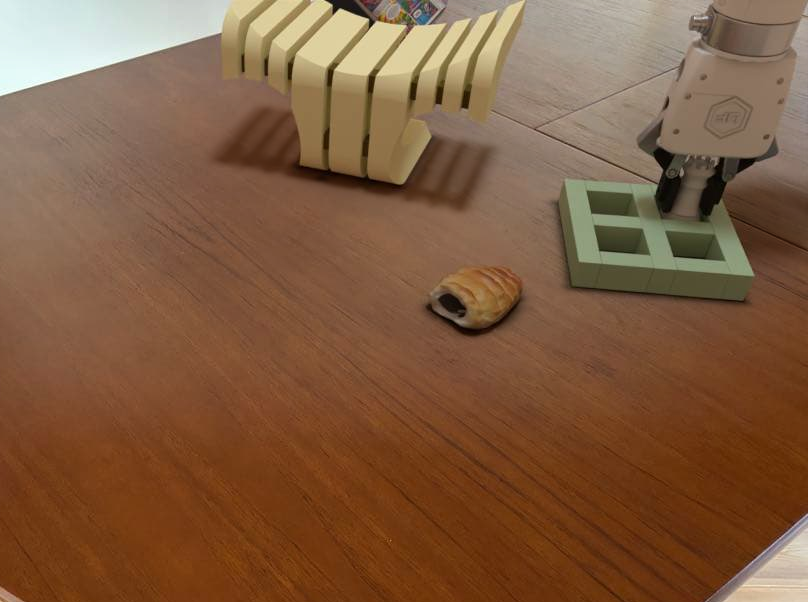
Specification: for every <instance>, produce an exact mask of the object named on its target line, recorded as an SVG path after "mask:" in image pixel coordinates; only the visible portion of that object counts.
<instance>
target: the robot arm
mask: <svg viewBox="0 0 808 602" xmlns="http://www.w3.org/2000/svg"><path fill="white" fill-rule="evenodd" d="M807 5H808V0H712V3H709V5H708V7H707V10H706V11H705V13H701V14H692V15H691V17H690V18H689V22H688V31H689V32H690V31H691V32H692V31H693V32H696V33H699V34H700V35H699V36H698V35H697V36H695V37H693V39H692V40H691V42H690V44H689V46H688V47H687V49H686V51H685V52H684V55H683V57H682V59H680V60H681V61H680V63H679V64H678V66H677V68H676V71H675V73H674V74H673V77H672V79H671V82H670V84H669V85H668V89H667V91H666V94H665V96H664V99H663V102H662V104H661V107H660V108H659V109H660V110H659V112H658V115H657V116H656V117H655V118H654V119H653V120H652V121H651V122H650V123H649V124H648V125H647V126H646V127H645V128H644V129H643V130H642V131H641V132H640V133H639V134H638V135H637V137H636V139H635V141H636V145H637V147H638V148H639V149H640V150H641V151H643V152H644V153H646V154H647V155H649V156H650V157H652V158H654V160H655V162H656V163H657V164H658V165H659V167H660V168H661V169H662V172H661V175H660V178H659V181H658V184H657V185H658V187H657V190H656V194H655V197H656V200H657V201H659V203H660V206H661V209H662V212H663V213H668V212H670V211H671V209H672V206H673V203H674V201H675V198H676V195H677V192H678V190H679V187H680V184H681V175H680V174H681V172H682V171H681V170H682V169H683V168H682V166H683V164H684V162H686V161H687V158H688V157H689V156H691V155H693V156H695V157H696V156H702V157H706V156H709V157H711V158H712V157H713V158H717V161H716V165H714V169H715V171H716V172H715V174H714V175H712V176H711V177H709V178H708V179H707V183H708V185H707V187H705V188H704V190H703V192H702V196H701V200H700V206H699V207H700V209H701V212H702V214H704V215H705V216H710V215H711V212H712V210H713V207H714V205H718V204H719V202H720V200H721V199H722V197H723V195H724V192H725V189H726V187H727V185H728V183H730V182H732V181H733V180H735V178H736V176H737V175H738V174H740V173H742V172H743V171H745V170H746V169H749V168H750V167H751V166H753V165H754V164H755V163H759V162H763V161H765V160H767V159H771V158H774V157H776V156H777V155H778V154H779V152H780V150H779V145H778V141H777V135H776V134H777V131H778V128H779V125H780V122H781V120H782V116H783V113H784V110H785V107H786V104H787V101H788V97H789V93H790V90H791V86H792V81H793V78H794V73H795V68H796V63H797V57H798V53H797V50H795V49H794V48H793V47H792V43H793V41H794V38H795V35H796V33H797V31H798V28H799V26H800V23H801V21H802V18H803V15H804V13H805V10H806V8H807ZM658 139H659V141H658Z"/></svg>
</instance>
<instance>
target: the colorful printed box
mask: <svg viewBox="0 0 808 602" xmlns="http://www.w3.org/2000/svg"><path fill="white" fill-rule="evenodd" d="M314 1H315V0H311V4H312V3H313V2H314ZM325 1H326V2H328V3H330V4H332V5H333V10H332V16H333V15H334V14H335V13H336V12H337V11H338V10H339V9H343V10H345V11H347V12H350V13H352V14H355V15H358V16H361V17H364V18H367V19H369V29H370V28H371V27H372V26H373V25H374V24H375V22H376V21H379V22H384V23H389V24H397V25H407V30H406V35H405V36H404V38H403V39H402V40H401V42H400V43H399V45H400V44H401V43H402V41H403V40H404V39H405V38H406V36H407V35H408V34H409V32H410V31H411V30H412V29H413V27H414V26H419V25H436V22H437V21H438V20H439V19H440V18H441V17H442V16H443V15H444V14H445V13H446V12H447V10H448V9H449V7H448V6H447V5H448V2H449V0H325ZM332 16H331V17H332ZM331 17H330V18H331ZM369 29H368V30H367V31H366V32H365V34H366V33H367V32H368V31H369ZM365 34H364V35H365ZM364 35H363V36H364ZM363 36H362V37H363ZM362 37H361V39H362ZM361 39H360V40H361ZM360 40H359V41H360ZM399 45H398V46H397V48H398V47H399ZM397 48H396V49H397ZM396 49H395V51H396ZM395 51H394V52H395ZM394 52H393V53H394Z"/></svg>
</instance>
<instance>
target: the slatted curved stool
mask: <svg viewBox="0 0 808 602" xmlns="http://www.w3.org/2000/svg"><path fill="white" fill-rule="evenodd" d="M311 2H312V0H232V1H231V3H230V4H229V6H228V7H227V10H226V12H225V15H224V18H223V23H222V27H221V35H220V53H221V69H222V70H221V74H222V76H221V77H222V81H226V80H237V79H239V78H240V77H241V76H242V75H243V74H244V79H245V80H250V81H251V80H252V81H256V82H262V81H263V80H264V79H265V77H267V84H268V86H270V87H272V88H273V89H275V90H276V91H278V92H279V93H280V94H281V95H282V96H283V97H284V96H285V95H286V94H287V93H288V91H289V90H291V93H290V94H291V95H290V96H291V97H290V99H291V100H290V103H291V104H290V105H291V106H290V107H291V108H290V109H291V111H292V114H293V117H294V120H295V124H296V127H297V132H298V136H299V140H300V141H299V142H300V159H299V166H303V167H306V168H307V167H308V168H312V169H317V170H322V171H328V170H329V169H330V171H331V172H333V173H337V174H343V175H348V176H353V177H358V178H365V177H368V178H369V179H370V180H374V181H379V182H384V183H385V182H386V183H390V184H395V185H401V186H402V185H403V184H405V182H406V181H407V179H408V178H409V176H410V175H411V172H412V171H413V169H414V167H415V166H416V164H417V163H418V160H419V159H420V157H421V156H422V154H423V152H424V150H425V149H426V147H427V145H428V144H429V142H430V140H431V138H432V137H433V136H432V135H431V132H430V130H429V128H428V126H427V121H426V120H421V119H414V118H416V117H418V116H421V115H423V114H428V113H433V111H434V109H435V108H436V106H437V105H441V107H440V113H448V114H453V115H459V114H460V112H461V111H462V109H464V110H467V115H466V118H467V119H471V120H473V121H476V122H478V123H480V124H482V125H485V123H486V121H487V119H488V117H489V115H490V114H491V112H492V110H493V108H494V103H495V99H496V98H495V97H496V93H497V89H498V86H499V81H500V78H501V75H502V71H503V69H504V66H505V62H506V59H507V57H508V54H509V52H510V50H511V47H512V45H513V43H514V41H515V39H516V36H517V34H518V32H519V30H520V28H521V26H522V24H523V18H524V13H525V8H526V3H527V0H520V1H517V2H515V3H513V4H510V5H507V7H506V9H505V10H504V11H503V13H502V15H501V17H500V18H499V20H498V15H499V9H496V10H493V11H491V12H488V13H484V14H480V15H479V17H478V19H477V21H476V22H475V24H474V25H473V27H472V28H471V26H472V20H473V18H472V17H469V18H465V19H462V20H457V21H454V22H453V24H452V25H451V27H450V28H449V29H448V31H447V24H448V23H447V22H446V23H445V22H444V23H437V24H436V25H419V26H414V27H413V29H412V30H411V31H410V32H409V34H408V35H407V36H406V38H405V39H404V40H403V41H402V43H401V44H400V45H399V43H400V42H401V40H402V39H403V38H404V36H405V35H406V30H407V25H397V24H389V23H384V22H379V21H376V22H375V24H374V25H373V26H372V27H371V28H370V29H369V19H367V18H364V17H361V16H358V15H355V14H352V13H350V12H347V11H345V10H343V9H339V10H338V11H337V12H336V13H335V14H334V15H333V16H332V10H333V5H332V4H330V3H328V2H326V1H325V0H315V1H314V2H313V3H312V4H311ZM331 16H332V17H331ZM330 17H331V18H330ZM497 20H498V21H497ZM368 29H369V31H368V32H367V33H366V34H365V32H366V31H367V30H368ZM446 32H447V33H446ZM364 34H365V35H364ZM363 35H364V36H363ZM362 36H363V37H362ZM361 37H362V39H361ZM360 39H361V40H360ZM359 40H360V41H359ZM398 45H399V47H398V48H397V46H398ZM396 48H397V49H396ZM395 49H396V51H395ZM394 51H395V52H394ZM393 52H394V53H393ZM412 116H413V118H412Z"/></svg>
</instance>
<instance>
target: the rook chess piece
mask: <svg viewBox="0 0 808 602" xmlns="http://www.w3.org/2000/svg"><path fill="white" fill-rule="evenodd" d="M715 164H716V161H715V159H712V157H709V156H705V158H703V156H693V155H689V156H688V159H686V160H685V162H684V164H683V166H682V168H681V169H682V171H683V174H682V175H680V177H681V184H680V187H679V190H678V192H677V195H676V198H675V201H674V203H673V206H672V209H671V211H670V212H668V213H663V212H662V209H660V211H659V214H660V217H661V220H662V219H667V220H680V221H693V222H701V215H700V208H699V206H700V200H701V196H702V192H703V190H704V188H705V187H707V185H708V183H707V179H708V178H709V177H711V176H712V175H714V174H715V172H716V171H715V169H714V167H715Z"/></svg>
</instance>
